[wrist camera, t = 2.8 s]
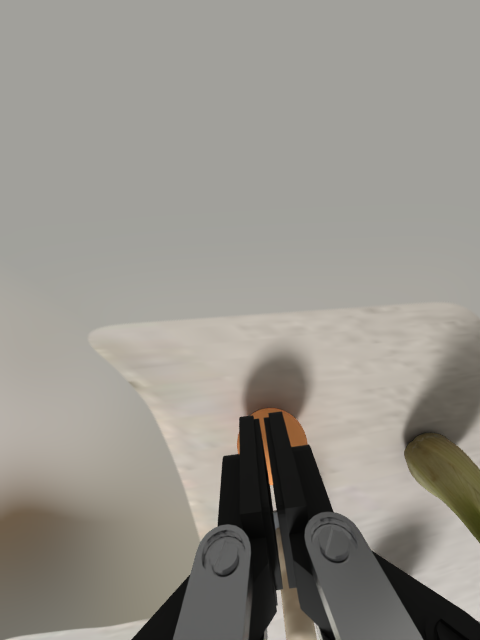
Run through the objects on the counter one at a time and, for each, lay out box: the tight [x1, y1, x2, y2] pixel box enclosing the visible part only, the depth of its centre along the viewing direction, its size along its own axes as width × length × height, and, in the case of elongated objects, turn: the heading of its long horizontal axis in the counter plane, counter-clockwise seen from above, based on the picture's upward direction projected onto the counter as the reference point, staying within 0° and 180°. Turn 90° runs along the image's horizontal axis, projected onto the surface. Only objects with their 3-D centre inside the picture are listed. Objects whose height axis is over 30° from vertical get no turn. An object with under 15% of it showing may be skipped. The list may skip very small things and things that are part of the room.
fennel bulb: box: [404, 433, 480, 543], centre depth 21 cm, size 6×5×12 cm
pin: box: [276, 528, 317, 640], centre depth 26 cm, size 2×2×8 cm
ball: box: [237, 408, 307, 485], centre depth 24 cm, size 6×6×6 cm
